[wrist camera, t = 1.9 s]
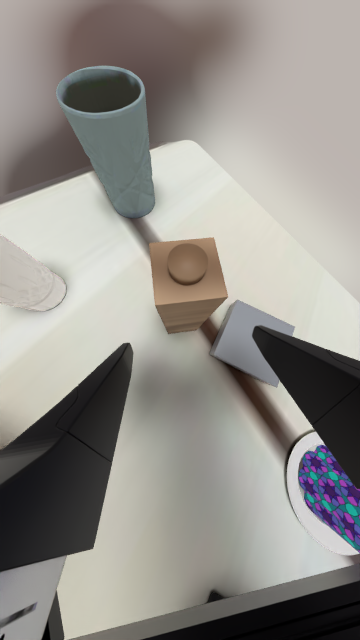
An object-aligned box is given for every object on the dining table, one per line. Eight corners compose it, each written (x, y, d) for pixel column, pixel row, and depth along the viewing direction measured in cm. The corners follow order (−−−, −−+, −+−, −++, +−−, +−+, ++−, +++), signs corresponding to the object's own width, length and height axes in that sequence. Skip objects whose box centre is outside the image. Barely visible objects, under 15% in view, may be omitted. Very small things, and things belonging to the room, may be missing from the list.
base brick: (264, 382, 19) (276, 387, 16) (209, 354, 20) (213, 354, 17) (281, 329, 21) (294, 326, 18) (230, 305, 22) (237, 299, 19)
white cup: (66, 266, 23) (-17, 202, 13) (74, 305, 21) (-15, 266, 11) (18, 280, 22) (-110, 222, 12) (23, 322, 20) (-122, 295, 10)
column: (196, 330, 20) (233, 291, 7) (168, 333, 20) (152, 300, 7) (191, 304, 22) (217, 226, 8) (165, 307, 21) (146, 232, 8)
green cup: (167, 197, 27) (160, 81, 15) (140, 230, 25) (108, 123, 13) (127, 179, 28) (93, 56, 16) (98, 208, 26) (34, 92, 14)
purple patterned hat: (356, 426, 18) (426, 456, 13) (389, 543, 15) (496, 639, 10) (274, 428, 18) (313, 459, 13) (292, 547, 15) (352, 649, 10)
